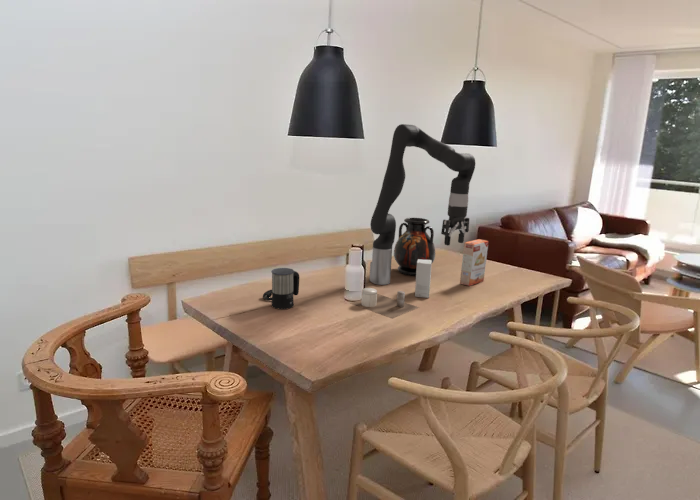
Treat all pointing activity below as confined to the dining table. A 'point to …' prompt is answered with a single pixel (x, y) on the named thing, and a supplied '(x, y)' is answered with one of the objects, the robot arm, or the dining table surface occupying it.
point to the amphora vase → (414, 245)
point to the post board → (389, 305)
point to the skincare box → (423, 278)
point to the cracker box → (474, 262)
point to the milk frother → (283, 288)
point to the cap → (369, 297)
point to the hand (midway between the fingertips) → (453, 243)
